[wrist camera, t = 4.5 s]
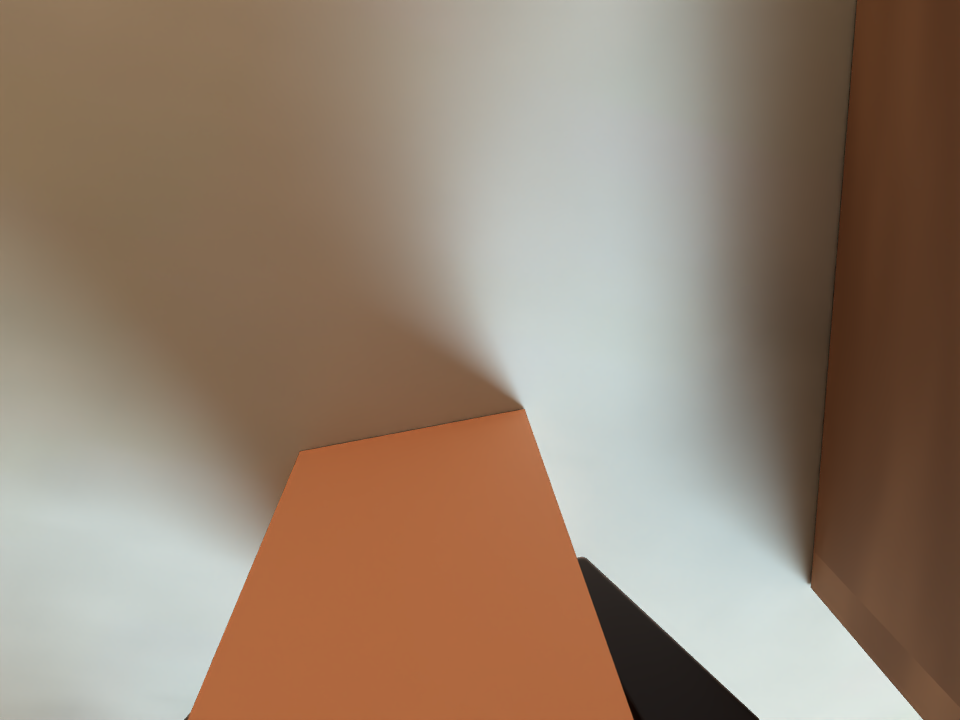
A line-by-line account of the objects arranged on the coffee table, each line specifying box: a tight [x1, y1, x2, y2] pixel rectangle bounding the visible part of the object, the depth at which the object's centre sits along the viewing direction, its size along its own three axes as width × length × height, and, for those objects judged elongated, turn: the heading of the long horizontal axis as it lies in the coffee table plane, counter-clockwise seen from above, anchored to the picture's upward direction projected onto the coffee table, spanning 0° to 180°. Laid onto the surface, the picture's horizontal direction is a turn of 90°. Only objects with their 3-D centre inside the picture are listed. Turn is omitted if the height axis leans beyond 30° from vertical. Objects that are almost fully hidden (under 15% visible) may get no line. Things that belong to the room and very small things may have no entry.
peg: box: [188, 409, 634, 720], centre depth 7 cm, size 4×4×7 cm
